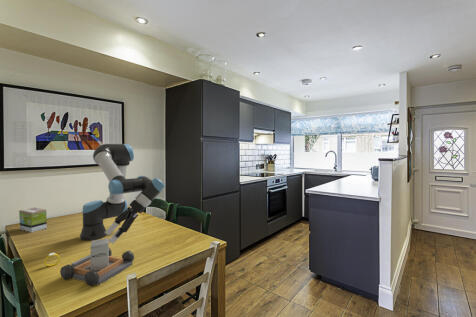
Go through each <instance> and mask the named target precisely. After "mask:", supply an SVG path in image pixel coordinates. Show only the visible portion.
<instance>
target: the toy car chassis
mask: <svg viewBox="0 0 476 317" xmlns="http://www.w3.org/2000/svg"><path fill="white" fill-rule="evenodd" d="M108 253H109V257H108V267H106V268H104V269H102V270H98V271H95V270H91V253H90V254H89V255H86V256H85V257H82V258H80V259H78V260H76V261H73V262H71V264H69V263H68V264H66V265H64V266H61V267H60V270H59V272H60V273H59V274H60V276H61V278H62V279H63V280H65V281H66V280H69V279H72V278H73V279H72V280H76V279H77V281H80V280H81V281H82V282H84V281H85V284H86V285H87V286H89V287H92V286H94V285H97V284H98V286H100V284H101V283H102V284H104V283H105V282H107V281H108V279H109V280H110V279H112V278H113V277H115V276H117V275H119V274H120V273H122V272H123V271H125V270H126V269H128V268H129V267H131V266H133V261H134V260H135V255H134V253H133V251H132V250H126V251H124V252H123V253H122V255H121V257H117V256H112V250H111V247H109V246H108ZM111 277H112V278H111ZM103 282H104V283H103ZM102 284H101V285H102Z"/></svg>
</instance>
